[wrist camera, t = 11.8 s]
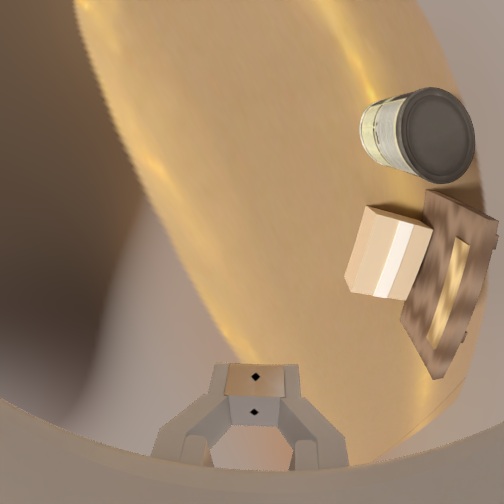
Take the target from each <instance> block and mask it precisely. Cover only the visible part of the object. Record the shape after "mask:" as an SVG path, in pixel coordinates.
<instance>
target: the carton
mask: <svg viewBox="0 0 504 504" xmlns="http://www.w3.org/2000/svg"><path fill="white" fill-rule="evenodd" d="M432 232H433V229H431V228H430V227H428V226H427V225H425V224H424V223H422V222H421V221H420V220H416V219H413V218H409V217H406V216H402V215H399V214H395V213H392V212H388V211H384V210H381V209H377V208H373V207H369V206H366V207H365V211H364V214H363V218H362V221H361V225H360V228H359V232H358V235H357V238H356V242H355V245H354V248H353V251H352V254H351V258H350V261H349V264H348V267H347V270H346V273H345V276H344V278H345V280H346V282H347V285H348V287H349V289H350V291H351V292H355V293H361V294H367V295H373V296H376V297H382V298H393V299H399V300H406V299H407V297H408V295H409V292H410V290H411V288H412V285H413V283H414V281H415V278H416V276H417V273H418V271H419V268H420V266H421V263H422V260H423V258H424V255H425V252H426V250H427V247H428V244H429V241H430V238H431V235H432Z"/></svg>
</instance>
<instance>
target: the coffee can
mask: <svg viewBox="0 0 504 504" xmlns="http://www.w3.org/2000/svg"><path fill="white" fill-rule="evenodd" d="M359 133H360V139H361V142H362V145H363V147H364V149H365V150H366V152H367V153H368V154H369V156H370V157H371V158H372V159H373V160H375V161H376V162H378V163H379V164H381V165H384V166H388V167H392V168H395V169H398V170H401V171H404V172H407V173H410V174H413V175H416V176H419V177H421V178H423V179H425V180H427V181H429V182H432V183H436V184H446V183H450V182H453V181H455V180H457V179H458V178H460V177H461V176H462V175H463V174H464V173H465V172H466V170H467V169H468V167H469V165H470V164H471V161H472V159H473V155H474V150H475V134H474V128H473V124H472V121H471V119H470V116H469V114H468V112H467V111H466V109H465V108H464V106H463V105H462V104H461V102H460V101H459V100H458V99H457V98H456V97H455V96H453V95H452V94H450V93H449V92H447V91H445V90H443V89H440V88H434V87H428V88H423V89H419V90H417V91H415V92H411V93H407V94H403V95H399V96H396V97H392V98H388V99H384V100H379V101H376V102H374V103H373V104H371V105H370V106H369V107H368V108H367V109H366V110H365V111H364V113H363V115H362V117H361V120H360V126H359Z"/></svg>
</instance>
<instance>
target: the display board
mask: <svg viewBox="0 0 504 504" xmlns="http://www.w3.org/2000/svg"><path fill="white" fill-rule="evenodd" d="M498 222H499V221H498V220H496V219H494V218H492V217H490V216H488V215H486V214H484V213H482V212H480V211H478V210H476V209H474V208H472V207H470V206H468V205H466V204H464V203H462V202H459V201H457V200H455V199H453V198H451V197H448V196H446V195H444V194H442V193H439V192H437V191H432V190H426V194H425V202H424V210H423V217H422V223H424V224H425V225H427V226H428V227H430V228H431V229H433V232H432V235H431V238H430V241H429V244H428V247H427V250H426V252H425V255H424V258H423V260H422V263H421V266H420V268H419V271H418V273H417V276H416V278H415V281H414V283H413V285H412V288H411V290H410V292H409V295H408V297H407V299H406V300H405V303H404V306H403V310H402V313H401V317H400V321H401V323H402V324H403V326H404V328H405V330H406V331H407V333H408V335H409V337H410V338H411V340H412V342H413V344H414V345H415V347H416V349H417V351H418V353H419V355H420V356H421V358H422V360H423V362H424V364H425V366H426V368H427V370H428V371H429V373H430V375H431V377H432V379H433V380H435V379H440V378H443V377H444V375H445V373H446V371H447V370H448V368H449V366H450V364H451V362H452V360H453V357H454V355H455V353H456V351H457V349H458V347H459V345H460V343H463V342H464V340H465V337H466V335H467V332H466V329H467V326H468V324H469V321H470V319H471V316H472V314H473V311H474V308H475V305H476V303H477V300H478V297H479V294H480V291H481V288H482V285H483V282H484V279H485V275H486V272H487V269H488V265H489V261H490V258H491V254H492V250H493V249H496V245H497V241H498V237H499V236H498V235H497V234H496V232H497V227H498Z"/></svg>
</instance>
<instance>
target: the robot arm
mask: <svg viewBox="0 0 504 504" xmlns="http://www.w3.org/2000/svg"><path fill="white" fill-rule="evenodd" d="M231 425H248V426H250V425H251V426H272V427H273V426H275V427H278V429H279V430H280V432H281V433H282V435H283V436H284V438H285V439H286V440H287V442H288V443H289V444H290V446H291V447H292V449H293V454H292V458H291V462H290V466H289V470H288V471H258V470H238V469H237V470H236V469H225V468H215V467H214V464H213V461H212V458H211V454H210V449H211V448H212V447H213V446H214V445H215V444H216V443H217V441H218V440H219V439H220V438H221V437H222V436H223V435H224V434H225V433H226V432H227V430H228V429H229V428H230V427H231ZM0 504H504V422H502V423H500V424H497V425H495V426H493V427H491V428H489V429H486V430H484V431H481V432H479V433H477V434H474V435H472V436H469V437H466V438H464V439H461V440H458V441H455V442H452V443H449V444H446V445H444V446H440V447H437V448H434V449H430V450H427V451H423V452H420V453H416V454H412V455H408V456H404V457H399V458H395V459H390V460H385V461H380V462H374V463H368V464H362V465H355V466H349V461H348V454H347V448H346V442H345V437H344V436H343V435H342V434H341V433H340V432H339V431H338V430H337V429H336V428H335V427H334V426H333V425H332V424H331V423H330V422H329V421H328V420H327V419H326V418H325V417H324V416H323V415H322V414H321V413H320V412H319V411H318V410H317V409H316V408H315V407H314V406H313V405H312V404H311V403H310V402H309V401H308V400H307V399H306V398H303V397H301V389H300V377H299V366H298V365H297V364H288V365H266V364H257V365H256V364H240V363H223V362H216V363H215V365H214V370H213V374H212V379H211V383H210V387H209V391H208V394H203V395H202V396H201V397H199V398H198V399H197V400H196V401H194V402H193V403H192V404H191V405H189V406H188V407H187V408H186V409H184V410H183V411H182V412H181V413H179V414H178V415H177V416H175V417H174V418H173V419H172V420H170V421H169V422H168V423H166V424H165V425H164V426H163V427H161V428H160V430H159V432H158V435H157V439H156V441H155V444H154V447H153V450H152V453H151V456H145V455H141V454H137V453H133V452H129V451H126V450H122V449H119V448H115V447H112V446H108V445H105V444H102V443H99V442H96V441H93V440H90V439H87V438H85V437H82V436H79V435H77V434H74V433H72V432H69V431H66V430H64V429H62V428H59V427H57V426H55V425H52V424H50V423H48V422H46V421H44V420H41V419H39V418H37V417H35V416H33V415H31V414H29V413H27V412H25V411H23V410H21V409H19V408H18V407H16V406H14V405H12V404H10V403H9V402H6V401H5V400H3V399H2V398H0Z"/></svg>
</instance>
